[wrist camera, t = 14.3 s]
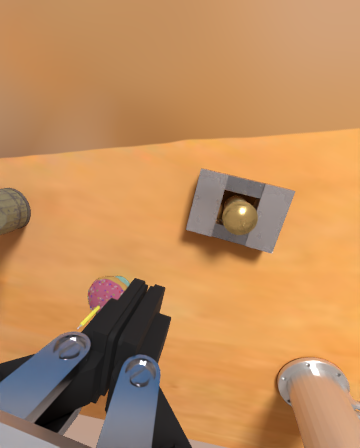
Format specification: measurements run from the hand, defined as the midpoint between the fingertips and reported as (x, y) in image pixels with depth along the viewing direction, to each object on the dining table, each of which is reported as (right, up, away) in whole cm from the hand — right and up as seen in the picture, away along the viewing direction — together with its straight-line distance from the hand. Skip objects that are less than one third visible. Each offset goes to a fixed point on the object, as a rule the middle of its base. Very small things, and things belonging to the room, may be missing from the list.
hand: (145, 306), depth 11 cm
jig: (+11, +7, +27) cm, 30 cm away
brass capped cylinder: (+11, +7, +27) cm, 30 cm away
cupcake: (-11, -9, +35) cm, 37 cm away
